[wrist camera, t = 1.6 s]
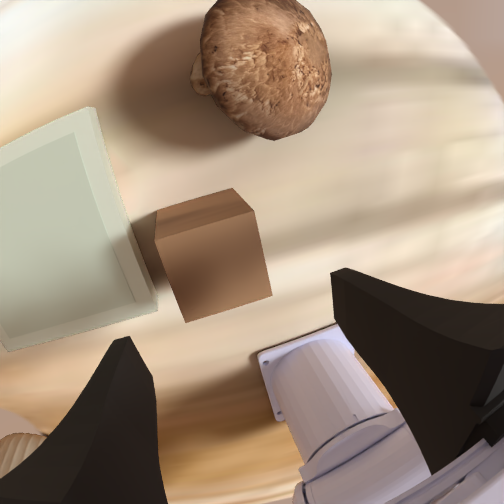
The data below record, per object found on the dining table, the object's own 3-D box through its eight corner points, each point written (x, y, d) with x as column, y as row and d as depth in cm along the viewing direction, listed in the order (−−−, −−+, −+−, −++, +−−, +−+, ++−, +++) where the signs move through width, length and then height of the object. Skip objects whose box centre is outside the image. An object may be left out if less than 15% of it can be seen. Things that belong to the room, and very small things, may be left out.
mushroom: (132, 110, 13) (235, 65, 9) (180, -7, 13) (271, -57, 9) (248, 165, 19) (346, 158, 15) (268, 59, 19) (353, 39, 15)
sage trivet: (157, 295, 20) (157, 311, 18) (15, 337, 18) (7, 352, 17) (95, 107, 15) (87, 106, 13) (-55, 185, 13) (-70, 192, 11)
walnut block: (248, 255, 20) (272, 295, 16) (180, 276, 20) (185, 322, 15) (232, 187, 19) (254, 210, 14) (157, 210, 18) (154, 240, 13)
